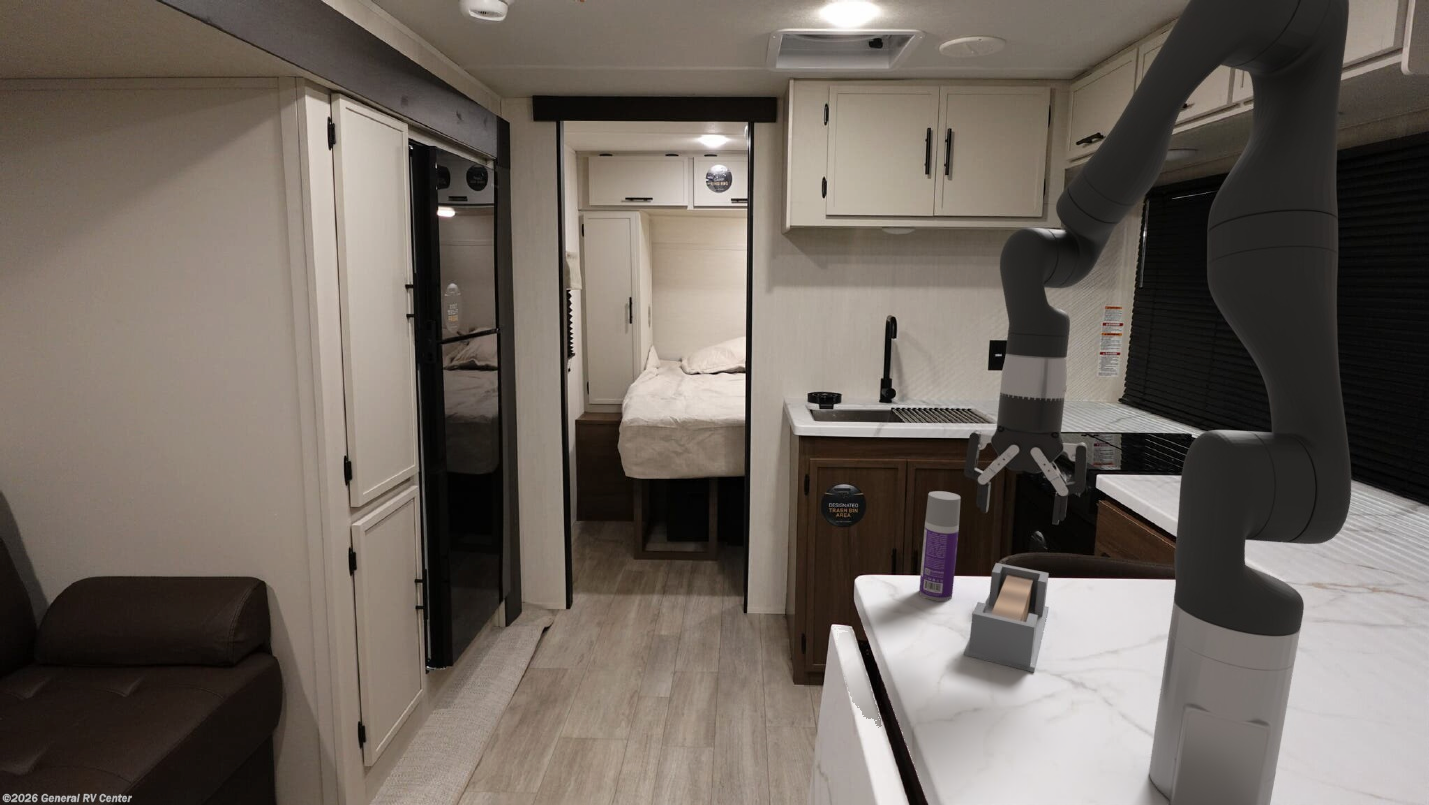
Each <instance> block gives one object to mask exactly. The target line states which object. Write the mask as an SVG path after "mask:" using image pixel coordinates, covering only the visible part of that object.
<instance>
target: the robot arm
mask: <svg viewBox="0 0 1429 805" xmlns="http://www.w3.org/2000/svg"><path fill="white" fill-rule="evenodd" d="M1349 16H1350V0H1189V2H1188V3H1187V4H1186V6H1185V7H1184V9H1183V11H1182V12H1181V14H1180V15H1179V17H1178V18H1177V21H1176V23H1175V24H1174V26H1173V27H1172V29H1171V31H1170V33H1169V34H1168V35H1167V37H1166V39H1165V40H1164V43H1163V44H1162V46H1161V48H1160V49H1159V51H1158V52H1157V54H1156V56H1155V57H1154V59H1153V60H1152V62H1151V64H1150V65H1149V66H1148V68H1147V71H1146V72H1145V74H1144V76H1143V77H1142V79H1141V81H1140V83H1139V85H1138V87H1136V88H1135V91H1134V93H1133V94H1132V96H1131V98H1130V100H1129V101H1128V103H1127V105H1126V107H1124V110H1123V111H1122V112H1121V115H1120V116H1119V118H1118V119H1117V121H1116V123H1115V124H1114V126H1113V127H1112V128H1111V130H1110V132H1109V133H1108V135H1106V136H1105V138H1104V140H1103V141H1102V143H1101V144H1100V145H1099V146H1098V147H1097V149H1096V150H1095V152H1094V153H1093V154H1092V155H1091V156H1090V158H1089V159H1088V160H1087V162H1086V163H1085V164H1084V165H1083V166H1082V168H1081V169H1080V170H1079V171H1078V172H1077V174H1075V175H1074V177H1073V178H1072V179H1071V181H1070V182H1069V184H1068V185H1067V186H1066V187H1065V188H1064V190H1063V191H1061V192H1062V193H1061V194H1060V195H1059V197H1058V199H1057V201H1056V205H1055V206H1056V207H1055V209H1056V210H1055V211H1056V215H1057V217H1058V218H1059V220H1060V222H1061V223H1062V224H1063V228H1061V229H1053V228H1052V229H1051V228H1042V227H1022V228H1020V229H1017V230H1016V231H1014V232H1012V234H1010V236H1009V237H1008V239H1007V240H1006V242H1005V243H1004V244H1003V247H1002V250H1001V253H1000V258H999V273H1000V280H1001V284H1002V289H1003V294H1004V295H1003V296H1004V302H1005V308H1006V312H1007V318H1008V328H1007V329H1008V330H1007V338H1006V340H1007V341H1006V350H1005V358H1004V363H1003V366H1002V371H1001V380H1000V390H999V397H998V398H999V400H998V410H997V421H996V429H995V432H994V433H993V434H991V433H984V432H981V430H978V429H975V430H973V432H971V433H970V434H969V438H968V443H967V444H968V445H967V450H966V456H965V463H964V464H965V465H964V468H963V469H964V470H963V475H964V476H965V477H966V478H970V479H972V480H974V481H975V482H976V485H977V492H976V500H975V504H976V507H977V508H980V513H983V514H987V513H988V511H989V506H990V498H991V497H990V496H991V484H992V482H991V481H990V480H991V479H992V478H993V477H994V476H996V475H997V473H998V472H1000V471H1001V470H1002V469H1003V468H1004V467H1006V468H1007V469H1009V470H1010V471H1013V472H1022V471H1023V472H1026V473H1029V474H1034V475H1035V474H1036V475H1037V474H1039V473H1041V472H1043V474H1044V476H1045V477H1046V478H1047V480H1048V481H1049V482H1050V483H1051V484H1052V486H1053V488H1054V489H1055V491H1056V492H1055V495H1054V501H1053V502H1054V504H1053V510H1052V520H1051V521H1052V522H1051V523H1052V525H1056V526H1057V525H1059V522H1060V521H1063V522H1064V520H1065V518H1066V515H1067V506H1068V497H1069V496H1070V495H1073V494H1083V493H1084V492H1085V491H1086V483H1087V482H1086V481H1087V461H1088V460H1087V459H1088V457H1087V456H1088V445H1087V444H1086V443H1085V442H1082V441H1081V442H1078V443H1070V442H1069V443H1068V442H1063V440H1062V425H1063V416H1064V415H1063V414H1064V408H1065V397H1066V393H1067V379H1068V377H1067V376H1068V373H1067V372H1068V368H1067V359H1068V358H1067V357H1068V348H1069V347H1068V346H1069V340H1070V328H1071V320H1070V316H1069V314H1068V313H1067V312H1066V311H1064V310H1062V309H1060V308H1057V307H1054V306H1053V305H1052V306H1051V305H1050V304H1049V301H1048V299H1047V294H1046V289H1047V288H1048V289H1049V288H1050V289H1066V288H1069V287H1072V286H1075V285H1076V284H1079V283H1080V282H1081V281H1083V280H1084V279H1085V278H1086V277H1087V276H1088V275H1089V274H1090V273H1091V271H1092V270H1093V269H1094V267H1095V266H1096V264H1097V263H1098V260H1099V258H1100V256H1101V255H1102V252H1103V250H1104V249H1105V247H1106V245H1107V243H1108V241H1109V240H1110V237H1111V235H1112V233H1113V231H1114V229H1115V228H1116V226H1118V224H1119V223H1121V221H1122V220H1123V219H1124V218H1125V217H1126V216H1127V215H1128V214H1129V213H1130V212H1131V211H1132V210H1133V208H1135V206H1136V205H1137V204H1139V202H1140V201H1141V200H1142V199H1143V198H1144V197H1145V196H1146V194H1147V193H1148V192H1149V191H1150V190H1151V188H1153V185H1154V184H1155V182H1156V181H1157V180H1158V178H1159V176H1160V175H1161V172H1162V170H1163V168H1164V165H1165V162H1166V160H1167V156H1168V152H1169V149H1170V144H1171V140H1172V136H1173V132H1174V129H1175V125H1176V123H1177V120H1178V118H1179V115H1180V113H1181V111H1182V109H1183V107H1184V105H1185V104H1186V102H1188V100H1189V98H1190V97H1191V95H1192V94H1193V93H1194V92H1195V90H1196V89H1197V88H1198V87H1200V85H1201V84H1202V83H1203V82H1204V81H1205V80H1206V79H1207V78H1208V77H1209V76H1210V75H1211V74H1212V73H1213V72H1214V71H1215V70H1217V69H1218V68H1219V67H1220V66H1223V67H1226V68H1227V67H1228V68H1232V69H1235V70H1240V71H1243V72H1247V73H1248V74H1249V76H1250V80H1251V85H1252V96H1253V97H1252V98H1253V109H1252V126H1251V131H1250V134H1249V138H1248V141H1247V143H1246V146H1245V148H1244V150H1243V151H1242V153H1241V155H1240V156H1239V157H1238V160H1237V161H1236V162H1235V164H1234V165H1233V167H1232V169H1231V170H1230V172H1229V173H1228V175H1227V176H1226V178H1225V179H1224V181H1223V183H1222V184H1221V186H1220V187H1219V190H1218V191H1217V193H1216V195H1215V198H1214V199H1213V201H1212V204H1211V207H1210V210H1209V214H1208V218H1207V219H1208V220H1207V235H1206V236H1207V238H1206V240H1207V246H1206V252H1207V253H1206V256H1207V257H1206V271H1207V272H1206V274H1207V276H1206V278H1207V285H1208V289H1209V292H1210V295H1211V297H1212V298H1213V301H1214V303H1215V305H1216V306H1217V309H1218V310H1219V311H1220V313H1221V314H1222V316H1223V318H1224V319H1225V321H1226V322H1227V324H1228V325H1229V326H1230V328H1231V330H1232V331H1233V332H1234V333H1235V335H1236V336H1237V337H1238V339H1239V340H1240V342H1241V344H1242V345H1243V346H1244V347H1245V349H1246V350H1247V352H1248V353H1249V355H1250V356H1251V358H1252V359H1253V361H1254V363H1255V364H1256V366H1257V368H1258V370H1259V372H1260V374H1261V376H1262V377H1261V378H1262V379H1263V381H1264V382H1263V383H1264V384H1265V388H1266V392H1267V397H1268V401H1269V410H1270V416H1271V417H1270V418H1271V432H1267V431H1266V432H1265V431H1251V430H1250V431H1249V430H1248V431H1247V430H1231V429H1215V430H1212V429H1211V430H1208V431H1205V432H1202V433H1201V434H1199V435H1198V436H1196V438H1195V439H1194V440H1193V441H1192V442H1191V445H1190V446H1189V448H1188V450H1187V452H1186V455H1185V458H1184V461H1183V467H1182V470H1181V477H1180V487H1179V498H1178V499H1179V501H1178V516H1177V527H1176V528H1177V529H1176V540H1175V546H1174V560H1173V561H1174V563H1173V564H1174V575H1175V577H1174V578H1175V580H1174V581H1175V586H1174V594H1173V603H1172V608H1171V609H1172V610H1171V618H1170V625H1169V630H1168V637H1167V642H1166V643H1167V645H1166V650H1165V658H1164V662H1163V663H1164V665H1163V670H1162V671H1163V672H1162V676H1161V677H1162V679H1161V685H1160V692H1159V699H1158V706H1157V712H1156V720H1155V726H1154V727H1155V728H1154V733H1153V742H1152V748H1151V754H1150V763H1149V769H1148V772H1149V777H1150V779H1151V782H1152V783H1153V784H1154V786H1155V788H1156V789H1158V791H1159V792H1161V793H1162V794H1163V795H1164V796H1165V797H1166V798H1167V799H1168V801H1169V805H1271V803H1272V798H1273V797H1272V796H1273V791H1274V790H1273V789H1274V785H1275V780H1276V773H1277V767H1278V762H1279V755H1280V749H1281V743H1282V737H1283V731H1284V726H1285V720H1286V714H1287V709H1288V701H1289V696H1290V690H1291V685H1292V679H1293V678H1292V677H1293V673H1294V668H1295V662H1296V658H1297V652H1298V651H1297V650H1298V646H1299V641H1300V640H1299V639H1300V634H1301V627H1302V622H1303V618H1304V617H1303V615H1304V607H1305V603H1304V600H1303V597H1302V595H1301V593H1299V592H1298V590H1297V589H1295V588H1294V587H1292V586H1291V585H1290V584H1289V583H1287V582H1285V581H1283V580H1281V579H1280V578H1276V577H1275V576H1272V575H1270V574H1268V573H1267V572H1266V573H1265V572H1263V571H1261V570H1258V569H1255V568H1253V567H1250V566H1249V565H1247V564H1246V541H1256V542H1270V543H1271V542H1272V543H1283V544H1284V543H1286V544H1301V545H1319V544H1323V543H1325V542H1328V541H1330V540H1332V539H1334V538H1335V536H1337V534H1338V533H1339V532H1340V531H1341V530H1342V528H1343V527H1344V524H1346V520H1347V519H1348V518H1347V517H1348V514H1349V510H1350V505H1351V498H1352V470H1351V469H1352V468H1351V457H1350V447H1349V441H1348V431H1347V424H1346V417H1345V409H1344V401H1343V395H1342V394H1343V392H1342V384H1341V376H1340V364H1339V361H1340V360H1339V346H1338V318H1337V316H1338V310H1337V309H1338V307H1337V306H1338V305H1337V304H1338V303H1337V302H1338V301H1337V300H1338V294H1337V293H1338V292H1337V291H1338V290H1337V289H1338V270H1339V268H1338V267H1339V266H1338V264H1339V263H1338V262H1339V221H1338V219H1339V215H1338V213H1339V212H1338V211H1339V209H1338V199H1337V197H1338V196H1337V165H1338V164H1337V163H1338V162H1337V160H1338V159H1337V158H1338V114H1339V113H1338V112H1339V111H1338V110H1339V101H1340V92H1341V90H1340V89H1341V83H1342V82H1341V81H1342V75H1343V67H1344V58H1345V52H1346V51H1345V50H1346V45H1347V44H1346V43H1347V36H1348V26H1349ZM1045 288H1046V289H1045ZM987 444H991V446H992V447H993V449H994V450H995V452H996V453H997V458H995V459H994V460H993V461H992V463H991V464H989V465H988V466H987V467H986V468H985V469H984V470H981V469H979V468H978V462H979V456H980V451H981V450H984V449H985V448H986V446H987ZM1064 452H1065V453H1066V454H1067V457H1068V459H1069V460H1070V461H1071V462H1074V481H1070V482H1067V480H1066V479H1065V477H1064V476H1063V475H1062V473H1061V471H1060V469H1059V468H1058V466H1057V464H1056V463H1055V460H1056V459H1057V458H1058V457H1059V456H1060V455H1061V454H1063V453H1064Z"/></svg>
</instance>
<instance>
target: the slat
mask: <svg viewBox="0 0 1429 805" xmlns="http://www.w3.org/2000/svg"><path fill="white" fill-rule="evenodd" d="M1032 586H1033V580H1032V579H1027V578H1022V577H1017V576H1012V575H1007V577H1006V579H1005V582H1004V584H1003V587H1002V589H1001V591H1000V594H999V596H998V599H997V601H996V604H995V606H994V608H993V611H992V613H991V615H996V616H1000V617H1005V618H1009V619H1014V620H1018V621H1023V622H1026V619H1027V616H1028V613H1029V609H1030V604H1031V595H1032Z"/></svg>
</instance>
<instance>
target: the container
mask: <svg viewBox="0 0 1429 805" xmlns="http://www.w3.org/2000/svg"><path fill="white" fill-rule="evenodd" d="M927 494H928V495H927V503H926V513H925V521H924V531H923V543H922V555H921V565H920V566H921V567H920V578H919V590H918V592H919V595H920V596H921V597H923V598H925V599H927V600H931V601H936V602H947V601H949V600H951V599H953V594H954V592H953V591H954V583H955V582H954V581H955V572H956V570H955V569H956V561H957V552H958V550H957V549H958V538H959V528H960V527H959V526H960V511H961V496H960V495H959V494H957V493H953V492H949V491H942V490H941V491H940V490H937V491H936V490H935V491H929V493H927Z"/></svg>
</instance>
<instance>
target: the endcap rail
mask: <svg viewBox="0 0 1429 805" xmlns="http://www.w3.org/2000/svg"><path fill="white" fill-rule="evenodd" d="M1049 574H1050V573H1049V572H1045V571H1039V570H1036V569H1035V570H1034V569H1029V568H1025V567H1019V566H1014V565H1009V564H1003V563H999V562H998V563H997V562H995V564H994V567H993V569H992V571H991V575H990V576H991V580H990V587H989V588H990V589H989V594H988V595H987V599H986V601H985V603H984V602H980V601H977V603H976V604H975V607H974V609H973V611H972V614H971V623H970V624H971V625H970V635H969V639H968V641H967V643H966V646H965V648H964V650H963V655H965V656H967V657H972V658H974V659H980V660H983V661H987V662H991V663H995V664H999V665H1002V666H1006V667H1010V668H1016V669H1019V670H1023V671H1026V672H1031V673H1035V670H1036V667H1037V662H1038V658H1039V653H1040V650H1041V645H1042V641H1041V640H1042V639H1043V637H1044V632H1043V631H1045V628H1046V627H1045V626H1046V623H1047V619H1048V614H1049V610H1050V608H1049V606H1047V605H1046V599H1047V593H1048V592H1047V590H1048V584H1049V583H1048V582H1049V576H1050V575H1049ZM1007 575H1012V576H1017V577H1022V578H1027V579H1032V580H1033V586H1032V595H1031V604H1030V609H1029V613H1028V616H1027V619H1026V622H1023V621H1018V620H1014V619H1009V618H1005V617H1000V616H996V615H991V613H992V611H993V608H994V606H995V604H996V601H997V599H998V596H999V594H1000V591H1001V589H1002V587H1003V584H1004V582H1005V579H1006V577H1007ZM1046 618H1047V619H1046ZM1045 622H1046V623H1045Z"/></svg>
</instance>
